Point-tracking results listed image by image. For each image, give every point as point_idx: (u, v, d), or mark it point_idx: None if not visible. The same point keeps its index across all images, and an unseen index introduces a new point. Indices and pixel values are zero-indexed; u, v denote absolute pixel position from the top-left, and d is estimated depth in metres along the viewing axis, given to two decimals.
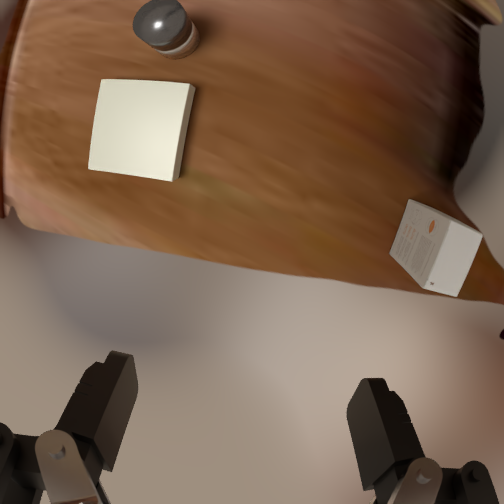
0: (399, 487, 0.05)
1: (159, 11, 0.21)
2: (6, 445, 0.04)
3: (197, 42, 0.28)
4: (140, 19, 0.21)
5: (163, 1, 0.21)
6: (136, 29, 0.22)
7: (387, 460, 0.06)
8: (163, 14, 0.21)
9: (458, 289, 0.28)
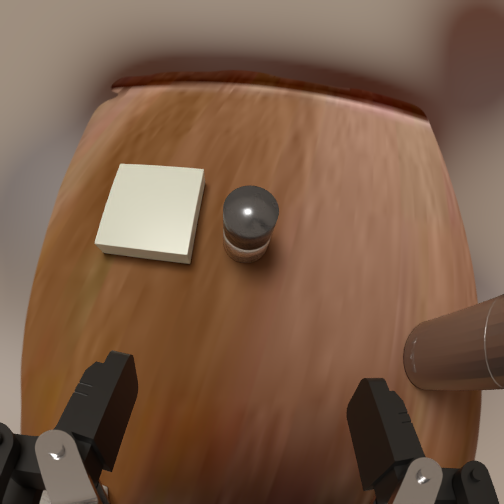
0: (399, 487, 0.05)
1: (260, 209, 0.29)
2: (6, 445, 0.04)
3: (241, 260, 0.34)
4: (252, 192, 0.29)
5: (273, 212, 0.29)
6: (240, 189, 0.29)
7: (387, 460, 0.06)
8: (256, 214, 0.28)
9: None
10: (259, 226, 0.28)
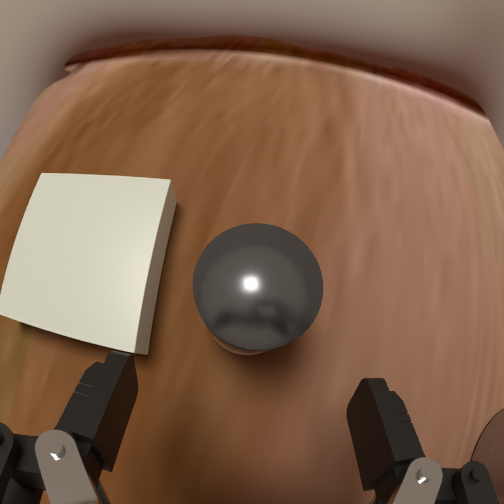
0: (399, 487, 0.05)
1: (282, 285, 0.12)
2: (6, 445, 0.04)
3: (238, 354, 0.18)
4: (262, 240, 0.13)
5: (311, 289, 0.12)
6: (233, 234, 0.13)
7: (387, 460, 0.06)
8: (270, 296, 0.12)
9: None
10: (278, 328, 0.11)
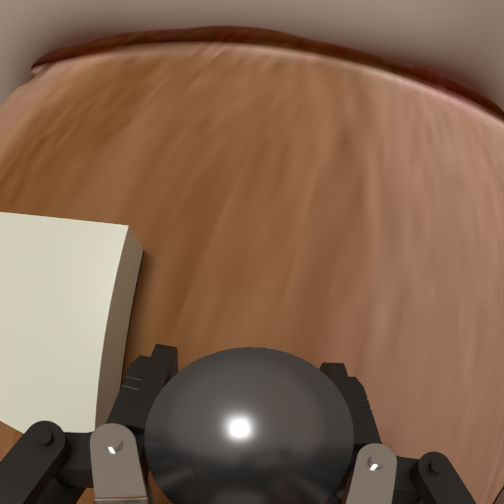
0: None
1: (288, 450, 0.06)
2: (57, 444, 0.05)
3: None
4: (257, 379, 0.07)
5: (334, 451, 0.06)
6: (207, 368, 0.07)
7: None
8: (270, 467, 0.06)
9: None
10: None
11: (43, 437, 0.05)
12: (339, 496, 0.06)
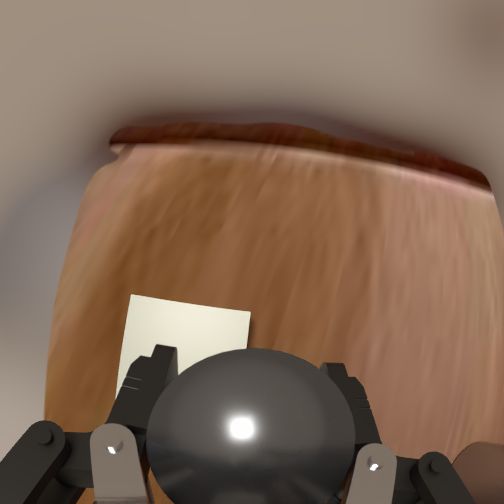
0: None
1: (290, 451, 0.06)
2: (57, 444, 0.05)
3: None
4: (260, 380, 0.07)
5: (336, 451, 0.06)
6: (209, 369, 0.07)
7: None
8: (272, 467, 0.06)
9: None
10: None
11: (43, 437, 0.05)
12: (339, 496, 0.06)
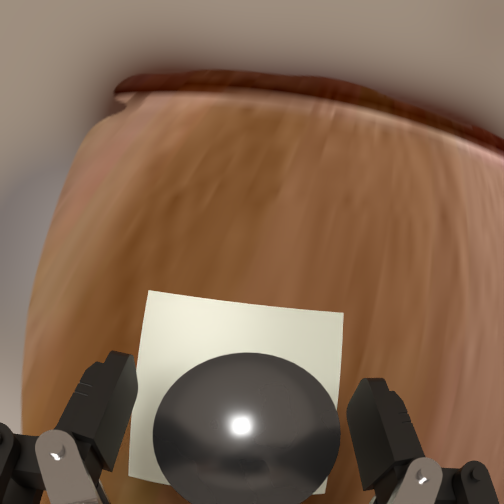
0: (399, 487, 0.05)
1: (281, 444, 0.07)
2: (6, 445, 0.04)
3: None
4: (253, 380, 0.08)
5: (323, 446, 0.07)
6: (209, 371, 0.08)
7: (387, 460, 0.06)
8: (265, 459, 0.07)
9: None
10: (274, 496, 0.06)
11: None
12: None
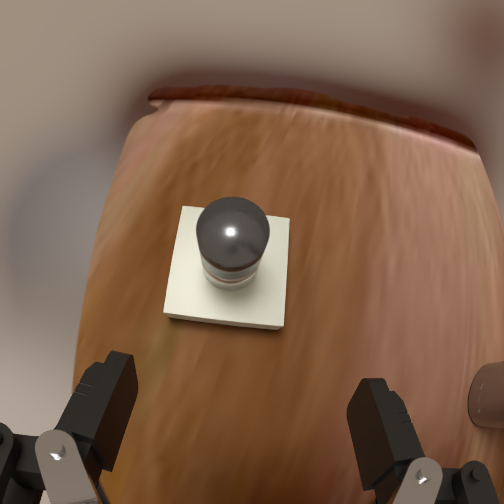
0: (399, 487, 0.05)
1: (245, 230, 0.21)
2: (6, 445, 0.04)
3: (222, 288, 0.27)
4: (236, 206, 0.22)
5: (262, 233, 0.22)
6: (219, 202, 0.22)
7: (387, 460, 0.06)
8: (239, 236, 0.21)
9: None
10: (242, 253, 0.21)
11: None
12: None
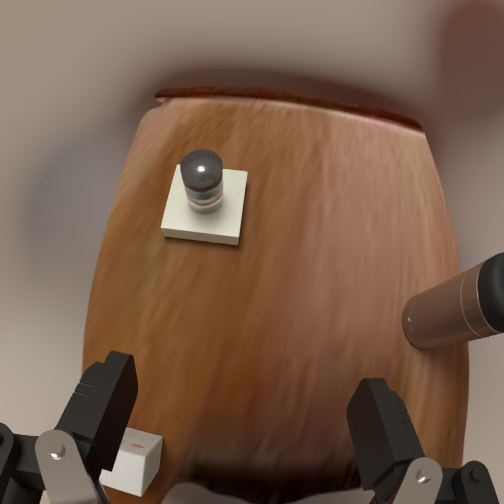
0: (399, 487, 0.05)
1: (208, 166, 0.36)
2: (6, 445, 0.04)
3: (199, 211, 0.42)
4: (204, 154, 0.37)
5: (217, 168, 0.36)
6: (195, 152, 0.37)
7: (387, 460, 0.06)
8: (204, 169, 0.36)
9: None
10: (204, 178, 0.35)
11: None
12: None
